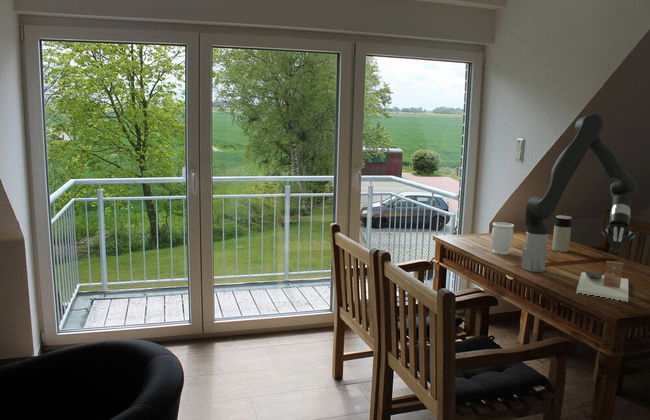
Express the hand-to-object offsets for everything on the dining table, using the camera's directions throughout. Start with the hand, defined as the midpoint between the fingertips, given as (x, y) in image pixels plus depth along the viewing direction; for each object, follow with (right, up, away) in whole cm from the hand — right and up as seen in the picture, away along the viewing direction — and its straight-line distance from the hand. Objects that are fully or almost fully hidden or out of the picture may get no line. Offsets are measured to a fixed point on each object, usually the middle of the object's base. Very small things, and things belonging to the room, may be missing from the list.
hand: (616, 250), depth 223 cm
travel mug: (+3, -5, +60) cm, 60 cm away
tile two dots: (-4, -14, -5) cm, 16 cm away
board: (-6, -15, -1) cm, 16 cm away
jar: (-31, -5, +51) cm, 60 cm away
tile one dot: (-4, -12, +10) cm, 16 cm away
